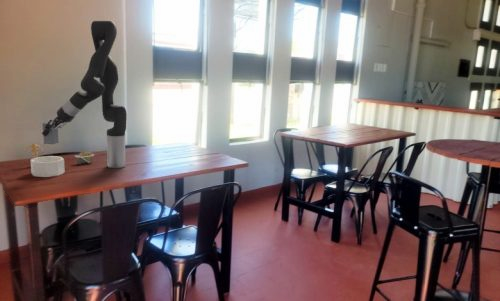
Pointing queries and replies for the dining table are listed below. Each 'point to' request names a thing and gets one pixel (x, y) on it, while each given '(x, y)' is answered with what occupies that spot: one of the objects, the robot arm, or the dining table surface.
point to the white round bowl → (47, 166)
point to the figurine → (34, 149)
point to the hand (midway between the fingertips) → (46, 133)
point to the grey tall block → (51, 136)
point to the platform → (84, 158)
